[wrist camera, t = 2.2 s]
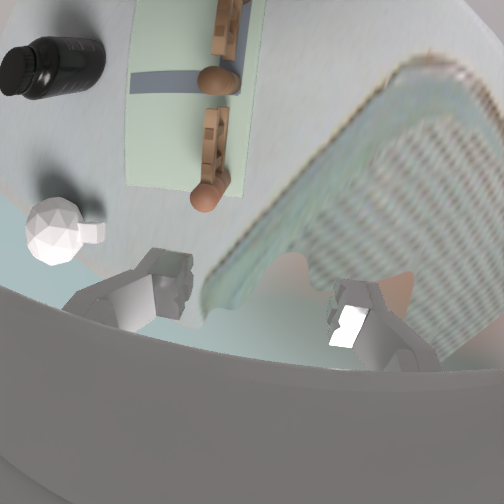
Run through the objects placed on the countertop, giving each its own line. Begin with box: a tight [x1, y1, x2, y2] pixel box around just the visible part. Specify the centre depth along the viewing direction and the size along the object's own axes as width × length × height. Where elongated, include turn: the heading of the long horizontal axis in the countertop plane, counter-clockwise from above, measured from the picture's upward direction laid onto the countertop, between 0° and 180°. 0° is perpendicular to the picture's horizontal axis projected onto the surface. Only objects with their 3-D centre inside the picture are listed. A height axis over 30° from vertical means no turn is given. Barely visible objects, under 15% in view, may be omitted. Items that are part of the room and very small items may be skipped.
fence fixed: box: [197, 0, 251, 95], centre depth 20 cm, size 12×2×7 cm, turn 174°
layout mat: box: [125, 0, 266, 198], centre depth 25 cm, size 24×14×1 cm, turn 174°
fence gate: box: [190, 106, 231, 212], centre depth 25 cm, size 9×2×6 cm, turn 174°
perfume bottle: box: [25, 197, 105, 266], centre depth 32 cm, size 9×9×12 cm
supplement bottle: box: [0, 36, 105, 100], centre depth 19 cm, size 7×7×12 cm
